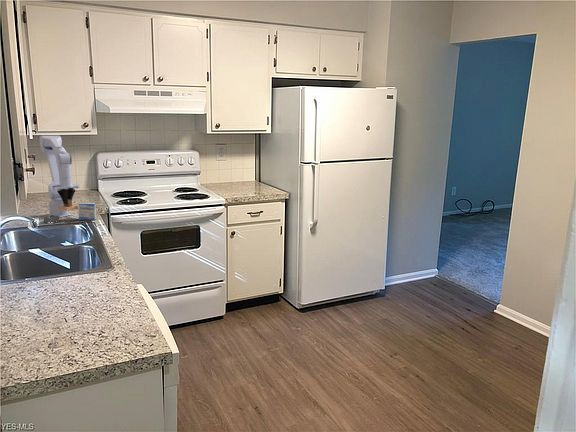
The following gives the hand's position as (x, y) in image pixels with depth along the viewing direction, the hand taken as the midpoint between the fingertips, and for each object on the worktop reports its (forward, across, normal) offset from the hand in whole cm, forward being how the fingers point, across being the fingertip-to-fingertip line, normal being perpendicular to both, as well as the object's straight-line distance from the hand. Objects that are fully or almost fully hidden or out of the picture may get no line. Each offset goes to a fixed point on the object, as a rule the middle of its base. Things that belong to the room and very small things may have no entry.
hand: (67, 203), depth 235 cm
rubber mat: (+9, 0, 0) cm, 9 cm away
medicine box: (+9, +6, -7) cm, 13 cm away
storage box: (+9, -7, +4) cm, 12 cm away
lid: (+3, 0, 0) cm, 3 cm away
